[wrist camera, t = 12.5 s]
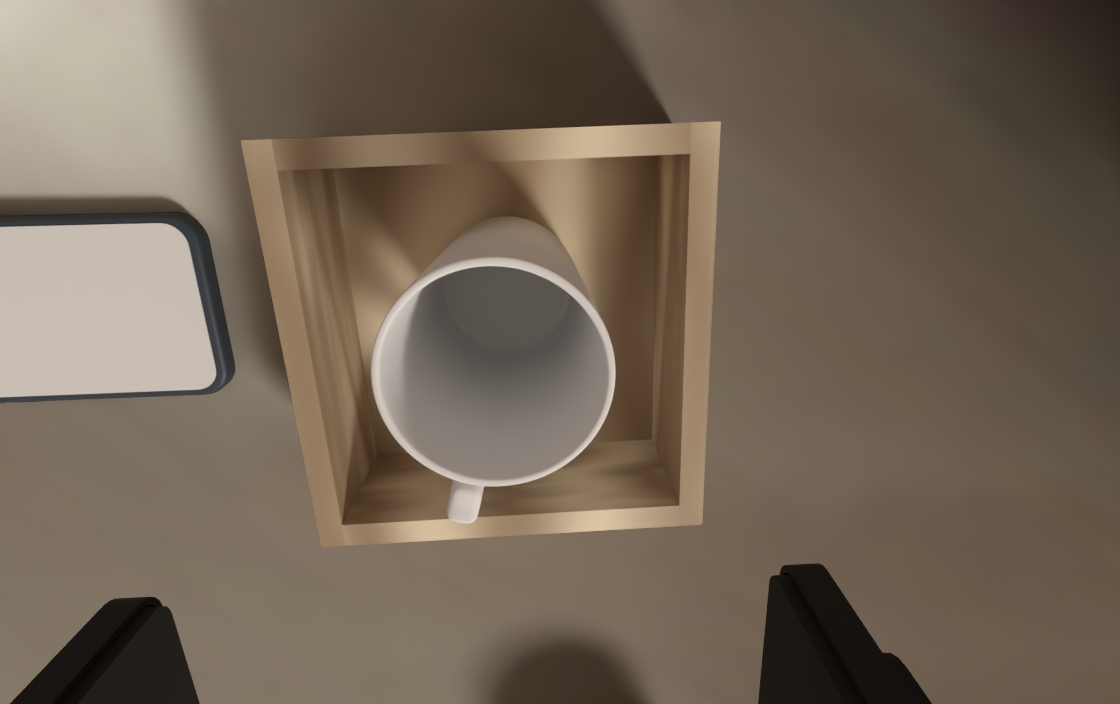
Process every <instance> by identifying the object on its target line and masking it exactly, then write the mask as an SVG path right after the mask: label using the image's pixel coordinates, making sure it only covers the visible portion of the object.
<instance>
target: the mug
mask: <svg viewBox="0 0 1120 704" xmlns="http://www.w3.org/2000/svg"><path fill="white" fill-rule="evenodd" d="M615 377H616V369H615V358H614V352H613V347H612V343H611V340H610V337H609V334H608V332H607V329H606V327H605V325H604V323H603V321H602V319H601V317H600V315H599V313H598V310H597V308H596V305H595V303H594V301H593V299H592V297H591V295H590V293H589V291H588V290H587V288H586V286H585V284H584V282H583V280H582V278H581V276H580V274H579V272H578V270H577V268H576V266H575V264H574V262H573V260H572V258H571V256H570V255H569V253H568V252H567V250H566V248H565V247H564V245H563V244H562V243H561V242H560V240H559V239H558V238H557V237H556V236H555V235H554V234H553V233H551V232H550V231H549V230H548V229H546V228H545V227H543V226H541V225H540V224H538V223H535V222H533V221H531V220H528V219H524V218H520V217H512V216H502V217H494V218H489V219H486V220H483V221H481V222H478V223H476V224H474V225H472V226H471V227H469V228H468V229H466V230H465V231H464V232H463V233H461V234H460V235H459V236H458V237H457V238H456V239H455V240H454V241H453V242H452V243H451V244H450V245H449V246H448V247H447V248H446V249H445V250H444V251H443V252H442V253H441V254H440V255H439V256H438V257H437V258H436V259H435V261H434V262H433V263H432V264H431V265H430V266H429V267H428V268H427V269H426V270H425V271H424V272H423V273H422V274H421V275H420V276H419V277H418V278H417V279H416V280H415V281H414V282H413V283H412V284H411V285H410V286H409V287H408V288H407V289H406V290H405V291H404V292H403V293H402V294H401V295H400V296H399V298H398V299H397V300H396V301H395V302H394V304H393V305H392V306H391V308H390V309H389V311H388V312H387V314H386V316H385V317H384V319H383V321H382V323H381V325H380V328H379V330H378V333H377V335H376V339H375V342H374V346H373V351H372V358H371V382H372V388H373V394H374V398H375V401H376V404H377V407H378V410H379V412H380V415H381V417H382V419H383V421H384V423H385V424H386V426H387V428H388V429H389V431H390V432H391V434H392V435H393V437H394V438H395V439H396V440H397V442H398V443H399V444H400V445H401V446H402V447H403V448H404V449H405V450H406V451H407V452H408V453H409V454H410V455H411V456H412V457H414V458H415V459H416V460H417V461H419V462H420V463H421V464H423V465H424V466H426V467H428V468H429V469H431V470H433V471H434V472H436V473H438V474H440V475H443V476H445V477H447V478H450V479H453V482H452V488H451V492H450V497H449V502H448V507H447V516H448V518H449V519H451V520H452V521H455V522H459V523H472V522H474V521H475V520H476V519H477V516H478V513H479V509H480V504H481V500H482V494H483V490H484V486H509V485H516V484H521V483H525V482H529V481H532V480H536V479H538V478H541V477H544V476H546V475H548V474H550V473H552V472H554V471H556V470H558V469H559V468H561V467H563V466H564V465H566V464H567V463H569V462H570V461H571V460H573V459H574V458H575V457H576V456H577V455H579V454H580V453H581V452H582V451H583V450H584V449H585V448H586V447H587V446H588V444H589V443H590V442H591V441H592V440H593V438H594V437H595V435H596V434H597V433H598V431H599V429H600V428H601V426H602V424H603V422H604V420H605V418H606V416H607V414H608V411H609V408H610V405H611V402H612V398H613V394H614V388H615Z"/></svg>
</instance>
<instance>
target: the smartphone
mask: <svg viewBox="0 0 1120 704" xmlns="http://www.w3.org/2000/svg"><path fill="white" fill-rule="evenodd" d="M234 373H235V362H234V357H233V352H232V348H231V343H230V338H229V333H228V328H227V323H226V318H225V314H224V309H223V304H222V299H221V294H220V289H219V284H218V279H217V275H216V270H215V265H214V260H213V255H212V250H211V245H210V241H209V237H208V235H207V233H206V231H205V229H204V228H203V226H202V225H201V224H200V223H199V222H198V221H197V220H195V219H194V218H192V217H191V216H189V215H186V214H183V213H179V212H155V213H109V214H63V215H20V216H0V403H6V402H38V401H53V400H78V399H104V398H129V397H155V396H180V395H205V394H211V393H214V392H217V391H219V390H220V389H222V388H223V387H224V386H225V385H227V384H228V383H229V382H230V381H231V379H232V378H233V376H234Z"/></svg>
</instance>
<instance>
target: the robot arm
mask: <svg viewBox="0 0 1120 704" xmlns="http://www.w3.org/2000/svg"><path fill="white" fill-rule="evenodd" d="M10 704H200V703H199V700H198V697H197V694H196V690H195V687H194V684H193V681H192V677H191V674H190V671H189V668H188V664H187V661H186V658H185V655H184V651H183V648H182V645H181V642H180V638H179V635H178V632H177V629H176V626H175V622H174V619H173V616H172V613H171V611H170V609H169V608H168V607H165V606H162V604H161V602H160V601H159V600H158V599H157V598H155V597H139V598H119V599H113V600H111V601H109V602H108V603H106V604H105V605H104V606H103V607H102V608H101V609H100V610H99V611H98V612H97V613H96V614H95V615H94V616H93V617H92V618H91V619H90V620H89V621H88V622H87V624H86V625H85V626H84V627H83V628H82V629H81V630H80V631H79V632H78V633H77V634H76V635H75V636H74V637H73V638H72V639H71V640H70V641H69V642H68V643H67V645H66V646H65V647H64V648H63V649H62V650H61V651H60V652H59V653H58V654H57V655H56V656H55V657H54V658H53V659H52V660H51V661H50V662H49V663H48V664H47V666H46V667H45V668H44V669H43V670H42V671H41V672H40V673H39V674H38V675H37V676H36V677H35V678H34V679H33V680H32V681H31V682H30V683H29V684H28V685H27V687H26V688H25V689H24V690H23V691H22V692H21V693H20V694H19V695H18V696H17V697H16V698H15V699H14V700H13V701H12V702H11V703H10ZM758 704H932V703H931V702H930V700H929V699H928V698H927V696H926V695H925V693H924V692H923V690H922V689H921V688H920V686H919V685H918V683H917V682H916V680H915V679H914V677H913V676H912V675H911V673H910V672H909V670H908V669H907V667H906V666H905V665H904V664H903V663H902V662H901V660H900V659H899V658H898V657H896V656H895V655H893V654H891V653H882V652H881V650H880V649H879V647H878V646H877V644H876V643H875V641H874V640H873V638H872V637H871V635H870V634H869V632H868V631H867V629H866V628H865V626H864V625H863V623H862V622H861V620H860V619H859V617H858V616H857V614H856V613H855V611H854V610H853V608H852V607H851V605H850V604H849V602H848V601H847V599H846V598H845V596H844V595H843V593H842V592H841V590H840V589H839V587H838V586H837V584H836V583H835V581H834V580H833V578H832V577H831V575H830V574H829V572H828V571H827V569H826V568H825V567H824V566H823V565H821V564H800V565H785V566H783V567H782V569H781V571H780V575H776V576H771V578H770V582H769V592H768V603H767V614H766V625H765V636H764V647H763V658H762V668H761V679H760V690H759V701H758Z"/></svg>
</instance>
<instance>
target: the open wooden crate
mask: <svg viewBox="0 0 1120 704" xmlns="http://www.w3.org/2000/svg"><path fill="white" fill-rule="evenodd" d="M720 125H721V122H695V123H670V124H644V125H619V126H593V127H568V128H542V129H517V130H491V131H466V132H440V133H415V134H389V135H364V136H338V137H313V138H287V139H261V140H240V141H241V146H242V151H243V156H244V161H245V166H246V171H247V176H248V181H249V186H250V191H251V196H252V201H253V206H254V211H255V216H256V221H257V226H258V231H259V236H260V241H261V246H262V251H263V256H264V261H265V266H266V271H267V276H268V281H269V286H270V291H271V296H272V301H273V306H274V311H275V317H276V322H277V327H278V332H279V337H280V342H281V347H282V352H283V357H284V362H285V367H286V372H287V377H288V382H289V387H290V392H291V397H292V402H293V407H294V412H295V417H296V422H297V427H298V432H299V437H300V442H301V447H302V452H303V457H304V462H305V467H306V472H307V477H308V482H309V487H310V492H311V497H312V502H313V507H314V512H315V518H316V523H317V528H318V533H319V538H320V543H321V547H332V546H348V545H365V544H382V543H399V542H416V541H433V540H449V539H466V538H483V537H500V536H517V535H533V534H550V533H567V532H584V531H601V530H618V529H634V528H651V527H668V526H685V525H702V516H703V494H704V473H705V451H706V429H707V408H708V386H709V364H710V343H711V321H712V299H713V277H714V256H715V234H716V212H717V191H718V169H719V147H720ZM502 216H512V217H520V218H524V219H528V220H531V221H533V222H535V223H538V224H540V225H541V226H543V227H545V228H546V229H548V230H549V231H550V232H551V233H553V234H554V235H555V236H556V237H557V238H558V239H559V240H560V242H561V243H562V244H563V245H564V247H565V248H566V250H567V252H568V253H569V255H570V256H571V258H572V260H573V262H574V264H575V266H576V268H577V270H578V272H579V274H580V276H581V278H582V280H583V282H584V284H585V286H586V288H587V290H588V291H589V293H590V295H591V297H592V299H593V301H594V303H595V305H596V308H597V310H598V313H599V315H600V317H601V319H602V321H603V323H604V325H605V327H606V329H607V332H608V334H609V337H610V340H611V343H612V347H613V352H614V358H615V369H616V377H615V388H614V394H613V398H612V402H611V405H610V408H609V411H608V414H607V416H606V418H605V420H604V422H603V424H602V426H601V428H600V429H599V431H598V433H597V434H596V435H595V437H594V438H593V440H592V441H591V442H590V443H589V444H588V446H587V447H586V448H585V449H584V450H583V451H582V452H581V453H580V454H579V455H577V456H576V457H575V458H574V459H573V460H571V461H570V462H569V463H567V464H566V465H564V466H563V467H561V468H559V469H558V470H556V471H554V472H552V473H550V474H548V475H546V476H544V477H541V478H538V479H536V480H532V481H529V482H525V483H521V484H516V485H509V486H484V490H483V494H482V500H481V504H480V509H479V513H478V516H477V519H476V520H475V521H474V522H472V523H459V522H455V521H452V520H451V519H449V518H448V516H447V507H448V502H449V497H450V492H451V488H452V482H453V479H450V478H447V477H445V476H443V475H440V474H438V473H436V472H434V471H433V470H431V469H429V468H428V467H426V466H424V465H423V464H421V463H420V462H419V461H417V460H416V459H415V458H414V457H412V456H411V455H410V454H409V453H408V452H407V451H406V450H405V449H404V448H403V447H402V446H401V445H400V444H399V443H398V442H397V440H396V439H395V438H394V437H393V435H392V434H391V432H390V431H389V429H388V428H387V426H386V424H385V423H384V421H383V419H382V417H381V415H380V412H379V410H378V407H377V404H376V401H375V398H374V394H373V388H372V382H371V358H372V351H373V346H374V342H375V339H376V335H377V333H378V330H379V328H380V325H381V323H382V321H383V319H384V317H385V316H386V314H387V312H388V311H389V309H390V308H391V306H392V305H393V304H394V302H395V301H396V300H397V299H398V298H399V296H400V295H401V294H402V293H403V292H404V291H405V290H406V289H407V288H408V287H409V286H410V285H411V284H412V283H413V282H414V281H415V280H416V279H417V278H418V277H419V276H420V275H421V274H422V273H423V272H424V271H425V270H426V269H427V268H428V267H429V266H430V265H431V264H432V263H433V262H434V261H435V259H436V258H437V257H438V256H439V255H440V254H441V253H442V252H443V251H444V250H445V249H446V248H447V247H448V246H449V245H450V244H451V243H452V242H453V241H454V240H455V239H456V238H457V237H458V236H459V235H460V234H461V233H463V232H464V231H465V230H466V229H468V228H469V227H471V226H472V225H474V224H476V223H478V222H481V221H483V220H486V219H489V218H494V217H502Z"/></svg>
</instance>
